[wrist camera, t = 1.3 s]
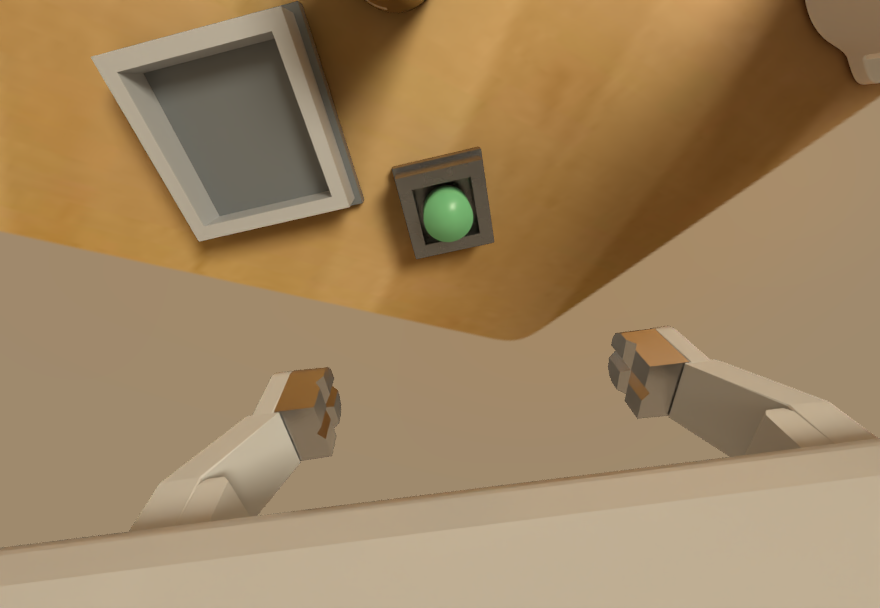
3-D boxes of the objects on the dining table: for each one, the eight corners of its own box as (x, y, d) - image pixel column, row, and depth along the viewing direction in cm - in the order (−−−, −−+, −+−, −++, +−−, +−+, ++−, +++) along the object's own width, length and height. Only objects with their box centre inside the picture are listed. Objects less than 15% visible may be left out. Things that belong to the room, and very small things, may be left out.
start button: (464, 180, 28) (468, 188, 26) (472, 225, 30) (476, 236, 27) (418, 190, 28) (418, 199, 26) (428, 235, 30) (429, 246, 28)
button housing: (479, 146, 29) (486, 153, 26) (491, 230, 33) (498, 245, 30) (392, 166, 29) (389, 176, 26) (414, 246, 33) (413, 263, 30)
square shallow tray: (302, 4, 24) (285, -8, 21) (364, 199, 31) (358, 212, 28) (118, 53, 25) (77, 49, 22) (217, 233, 31) (196, 248, 28)
